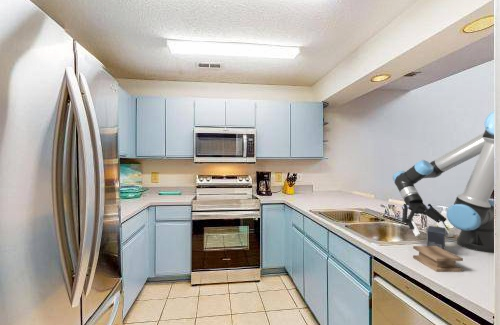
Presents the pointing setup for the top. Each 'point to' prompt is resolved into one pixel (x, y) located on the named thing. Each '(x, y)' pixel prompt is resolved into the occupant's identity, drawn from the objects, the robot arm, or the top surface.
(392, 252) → the top surface
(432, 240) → the small box
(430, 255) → the stand
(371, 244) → the top surface
